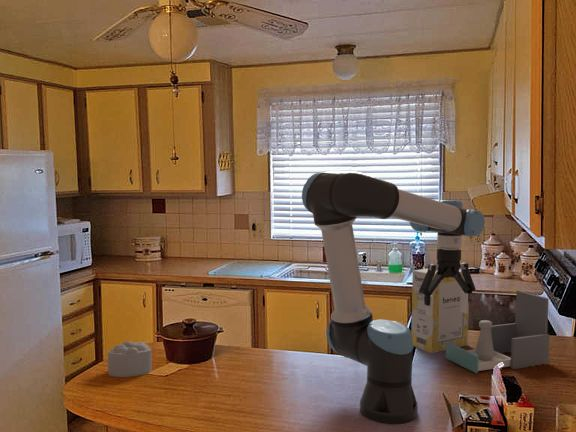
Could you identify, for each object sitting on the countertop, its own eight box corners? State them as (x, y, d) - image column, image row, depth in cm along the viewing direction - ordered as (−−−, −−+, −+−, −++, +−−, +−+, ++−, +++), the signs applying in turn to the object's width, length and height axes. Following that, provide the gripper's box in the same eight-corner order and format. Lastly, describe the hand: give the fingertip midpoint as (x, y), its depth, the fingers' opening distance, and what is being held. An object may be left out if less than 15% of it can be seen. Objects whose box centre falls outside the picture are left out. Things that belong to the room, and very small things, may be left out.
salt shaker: (475, 360, 184) (476, 322, 183) (475, 355, 189) (476, 318, 188) (494, 362, 182) (495, 323, 181) (493, 357, 188) (494, 319, 187)
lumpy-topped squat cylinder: (153, 373, 176) (153, 346, 175) (111, 379, 170) (110, 352, 169) (146, 363, 185) (145, 337, 184) (105, 369, 179) (105, 342, 178)
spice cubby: (512, 369, 180) (515, 302, 179) (480, 354, 195) (482, 292, 193) (548, 363, 186) (550, 299, 184) (514, 350, 200) (516, 290, 198)
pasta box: (431, 353, 197) (433, 274, 194) (411, 345, 206) (412, 270, 204) (467, 345, 206) (469, 270, 204) (446, 338, 215) (448, 266, 213)
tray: (475, 373, 175) (476, 356, 175) (445, 358, 190) (446, 342, 189) (516, 367, 181) (517, 350, 181) (484, 352, 195) (485, 337, 195)
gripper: (423, 251, 170) (420, 319, 171) (488, 248, 178) (485, 313, 180) (409, 248, 177) (407, 314, 178) (473, 245, 185) (470, 308, 187)
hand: (446, 314), depth 179 cm, fingers open, 13 cm apart
